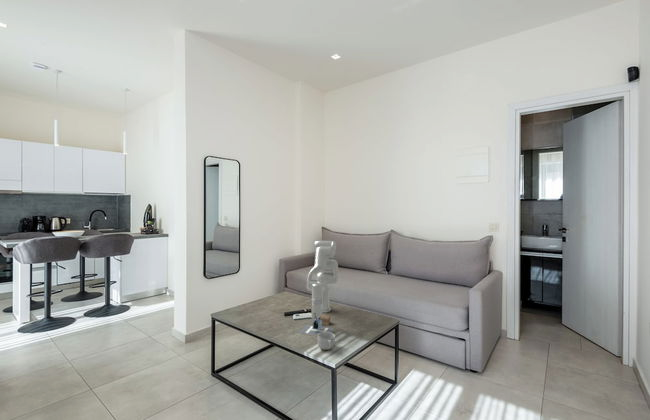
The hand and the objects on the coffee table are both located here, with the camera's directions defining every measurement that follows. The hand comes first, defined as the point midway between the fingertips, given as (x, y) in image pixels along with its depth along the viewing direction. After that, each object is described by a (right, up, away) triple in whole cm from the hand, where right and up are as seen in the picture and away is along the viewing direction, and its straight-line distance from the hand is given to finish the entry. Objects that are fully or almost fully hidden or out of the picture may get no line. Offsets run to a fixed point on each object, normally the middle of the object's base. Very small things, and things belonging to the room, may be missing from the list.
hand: (317, 326), depth 215 cm
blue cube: (0, -1, 0) cm, 1 cm away
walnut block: (+4, -3, +14) cm, 14 cm away
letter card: (0, -3, 0) cm, 3 cm away
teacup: (+7, -4, -26) cm, 27 cm away
